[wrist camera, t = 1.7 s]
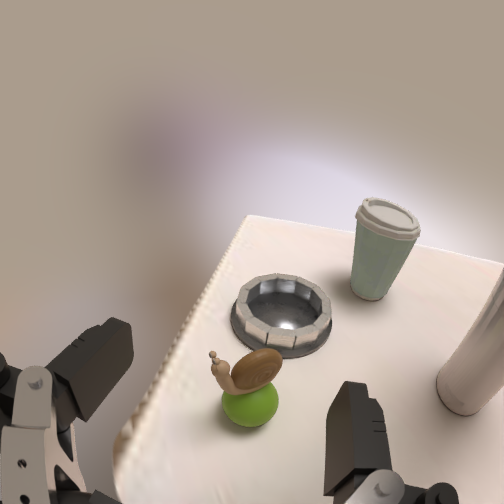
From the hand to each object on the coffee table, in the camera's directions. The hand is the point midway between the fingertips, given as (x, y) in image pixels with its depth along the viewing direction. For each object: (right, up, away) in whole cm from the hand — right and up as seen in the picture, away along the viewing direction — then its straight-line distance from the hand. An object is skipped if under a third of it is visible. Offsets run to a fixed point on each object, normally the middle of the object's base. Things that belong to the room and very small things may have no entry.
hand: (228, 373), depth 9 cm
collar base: (+5, -5, +29) cm, 30 cm away
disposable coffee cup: (+20, -2, +36) cm, 41 cm away
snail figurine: (0, -13, +16) cm, 21 cm away
